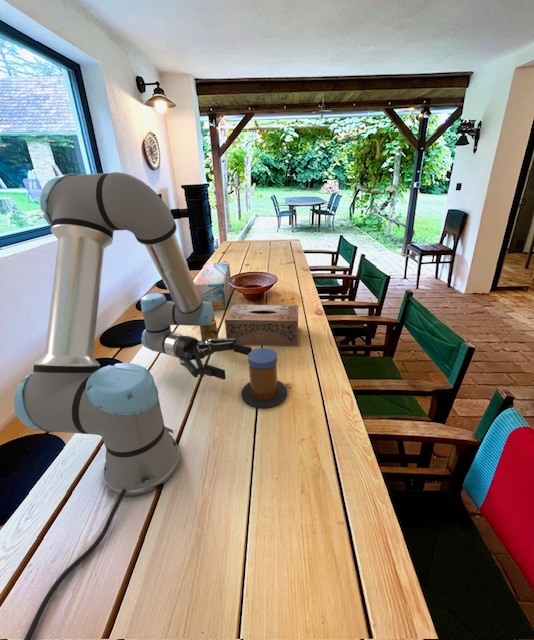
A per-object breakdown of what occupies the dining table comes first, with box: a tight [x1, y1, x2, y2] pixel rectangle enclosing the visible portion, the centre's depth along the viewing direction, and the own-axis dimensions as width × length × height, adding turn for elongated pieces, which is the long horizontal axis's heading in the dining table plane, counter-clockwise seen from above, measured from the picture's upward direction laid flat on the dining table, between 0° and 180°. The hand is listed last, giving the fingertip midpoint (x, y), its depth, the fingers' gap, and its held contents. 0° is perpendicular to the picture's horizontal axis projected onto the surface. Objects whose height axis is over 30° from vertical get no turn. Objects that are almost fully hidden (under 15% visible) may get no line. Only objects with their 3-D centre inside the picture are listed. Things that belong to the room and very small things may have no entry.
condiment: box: [198, 313, 219, 349], centre depth 117 cm, size 7×8×12 cm
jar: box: [248, 362, 278, 400], centre depth 89 cm, size 8×8×12 cm
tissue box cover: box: [224, 304, 299, 347], centre depth 122 cm, size 26×14×10 cm, turn 84°
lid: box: [247, 347, 279, 369], centre depth 87 cm, size 8×8×2 cm
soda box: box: [194, 261, 232, 310], centre depth 164 cm, size 41×14×13 cm, turn 3°
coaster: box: [240, 380, 288, 410], centre depth 91 cm, size 13×13×1 cm
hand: (238, 362), depth 92 cm, fingers open, 13 cm apart
